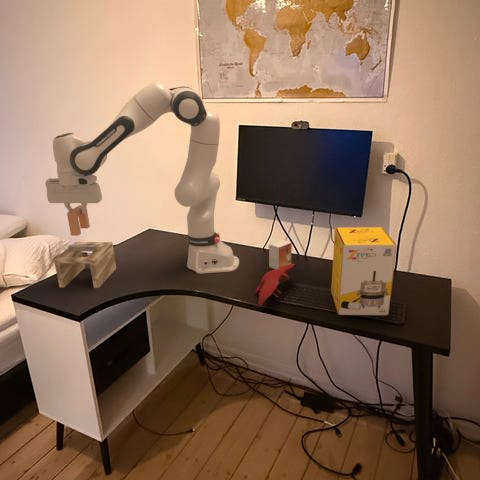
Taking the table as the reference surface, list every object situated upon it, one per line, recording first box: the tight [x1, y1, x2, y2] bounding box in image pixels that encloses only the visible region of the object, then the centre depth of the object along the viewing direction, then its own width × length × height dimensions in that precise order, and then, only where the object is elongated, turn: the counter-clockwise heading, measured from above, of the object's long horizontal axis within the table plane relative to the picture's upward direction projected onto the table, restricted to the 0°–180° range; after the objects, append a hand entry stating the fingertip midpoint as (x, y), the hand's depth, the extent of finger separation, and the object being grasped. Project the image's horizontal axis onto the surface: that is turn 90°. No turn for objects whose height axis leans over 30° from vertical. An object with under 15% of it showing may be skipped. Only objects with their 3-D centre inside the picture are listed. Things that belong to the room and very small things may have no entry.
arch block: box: [66, 204, 91, 237], centre depth 157 cm, size 10×3×9 cm, turn 175°
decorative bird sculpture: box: [255, 263, 296, 307], centre depth 146 cm, size 28×9×15 cm
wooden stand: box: [53, 241, 117, 289], centre depth 164 cm, size 16×18×14 cm
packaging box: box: [330, 226, 398, 316], centre depth 137 cm, size 16×16×25 cm
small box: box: [268, 239, 293, 270], centre depth 169 cm, size 8×6×10 cm
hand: (77, 213), depth 156 cm, fingers closed on arch block, 3 cm apart
